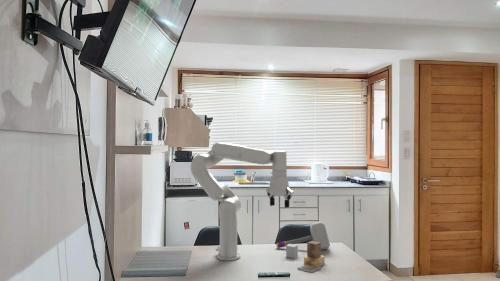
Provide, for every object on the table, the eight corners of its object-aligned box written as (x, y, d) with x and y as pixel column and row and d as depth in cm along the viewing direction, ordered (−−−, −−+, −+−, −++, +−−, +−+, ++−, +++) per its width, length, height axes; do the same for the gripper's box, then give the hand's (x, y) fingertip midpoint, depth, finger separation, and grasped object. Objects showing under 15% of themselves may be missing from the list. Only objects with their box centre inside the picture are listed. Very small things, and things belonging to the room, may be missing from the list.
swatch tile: (297, 269, 176) (297, 267, 176) (306, 265, 182) (306, 263, 182) (311, 272, 170) (311, 271, 170) (320, 268, 176) (320, 267, 176)
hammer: (273, 235, 210) (323, 222, 209) (273, 232, 218) (321, 220, 217) (280, 260, 210) (330, 248, 208) (279, 256, 217) (328, 244, 216)
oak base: (304, 265, 183) (303, 257, 183) (309, 261, 190) (309, 253, 190) (319, 267, 179) (319, 259, 179) (324, 263, 186) (324, 255, 186)
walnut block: (307, 256, 185) (307, 242, 185) (312, 254, 188) (312, 240, 189) (315, 258, 181) (315, 244, 182) (320, 256, 185) (320, 242, 185)
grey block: (286, 257, 196) (286, 245, 197) (288, 254, 201) (288, 243, 201) (295, 258, 195) (295, 246, 195) (297, 255, 199) (297, 244, 199)
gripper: (262, 173, 194) (262, 205, 194) (288, 174, 182) (288, 209, 182) (271, 172, 200) (271, 204, 199) (297, 174, 188) (297, 207, 187)
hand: (279, 206), depth 191 cm, fingers open, 9 cm apart
